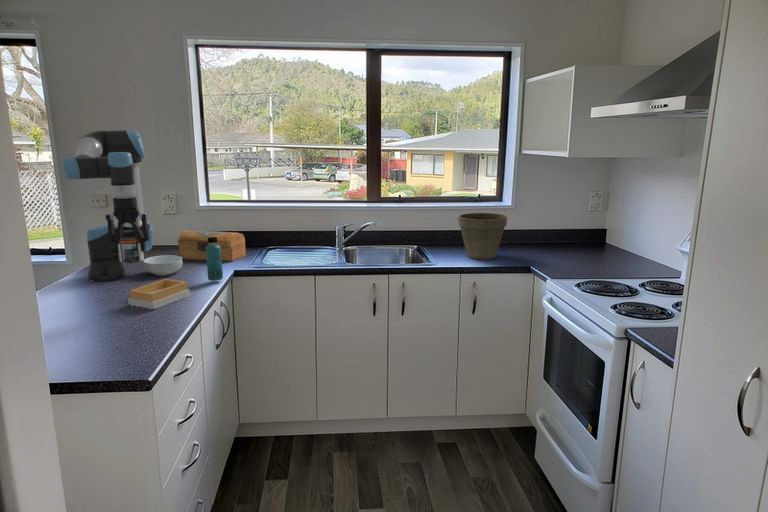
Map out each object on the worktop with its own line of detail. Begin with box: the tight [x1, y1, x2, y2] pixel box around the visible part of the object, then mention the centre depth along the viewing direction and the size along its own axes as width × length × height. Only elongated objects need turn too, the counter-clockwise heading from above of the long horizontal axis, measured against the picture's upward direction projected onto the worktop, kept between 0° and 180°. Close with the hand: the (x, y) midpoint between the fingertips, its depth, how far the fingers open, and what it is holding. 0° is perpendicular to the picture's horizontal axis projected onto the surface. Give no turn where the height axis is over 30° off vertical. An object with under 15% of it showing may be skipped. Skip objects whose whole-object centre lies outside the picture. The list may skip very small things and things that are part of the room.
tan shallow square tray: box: [127, 278, 191, 309], centre depth 201 cm, size 18×18×6 cm
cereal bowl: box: [142, 254, 183, 277], centre depth 239 cm, size 17×17×7 cm
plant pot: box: [457, 212, 508, 260], centre depth 269 cm, size 25×25×22 cm
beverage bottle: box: [206, 237, 224, 282], centre depth 224 cm, size 6×7×20 cm
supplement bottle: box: [120, 230, 141, 264], centre depth 187 cm, size 6×6×11 cm
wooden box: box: [177, 230, 247, 263], centre depth 269 cm, size 30×16×14 cm, turn 77°
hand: (132, 260), depth 188 cm, fingers closed on supplement bottle, 6 cm apart
